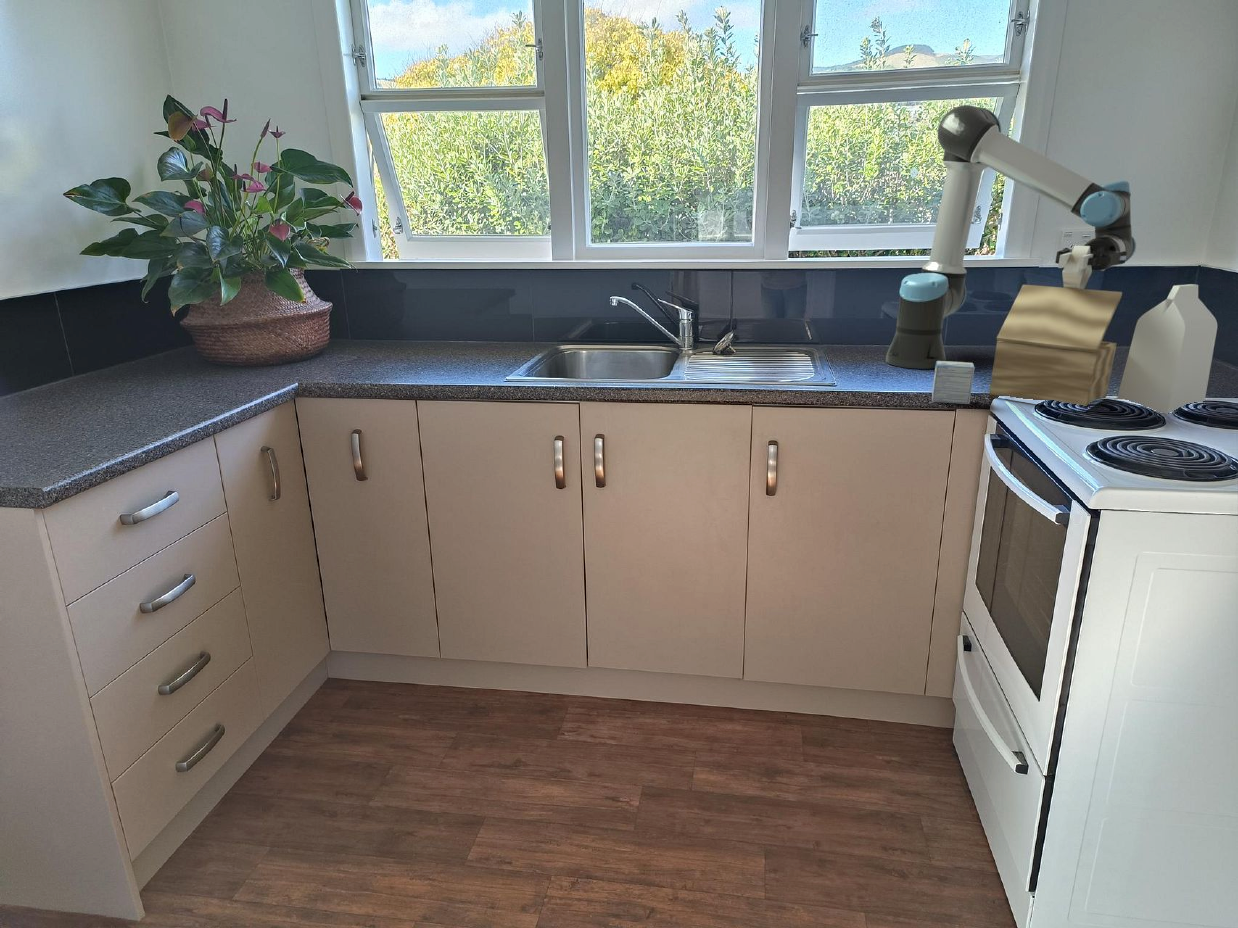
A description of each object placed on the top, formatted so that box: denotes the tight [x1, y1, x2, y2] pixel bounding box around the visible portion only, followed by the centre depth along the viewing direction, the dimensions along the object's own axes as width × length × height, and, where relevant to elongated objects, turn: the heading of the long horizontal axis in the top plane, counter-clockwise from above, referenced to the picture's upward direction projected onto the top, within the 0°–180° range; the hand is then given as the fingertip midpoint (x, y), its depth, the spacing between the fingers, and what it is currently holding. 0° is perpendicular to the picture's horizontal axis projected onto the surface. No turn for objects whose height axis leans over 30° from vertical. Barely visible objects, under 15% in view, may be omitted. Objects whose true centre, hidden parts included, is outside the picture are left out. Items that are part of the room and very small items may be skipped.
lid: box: [996, 245, 1123, 353], centre depth 176 cm, size 24×20×8 cm
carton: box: [988, 340, 1118, 406], centre depth 181 cm, size 16×20×13 cm
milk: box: [1116, 283, 1218, 415], centre depth 173 cm, size 12×12×26 cm
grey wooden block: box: [931, 360, 975, 405], centre depth 180 cm, size 8×4×9 cm, turn 71°
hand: (1071, 262), depth 173 cm, fingers open, 3 cm apart
